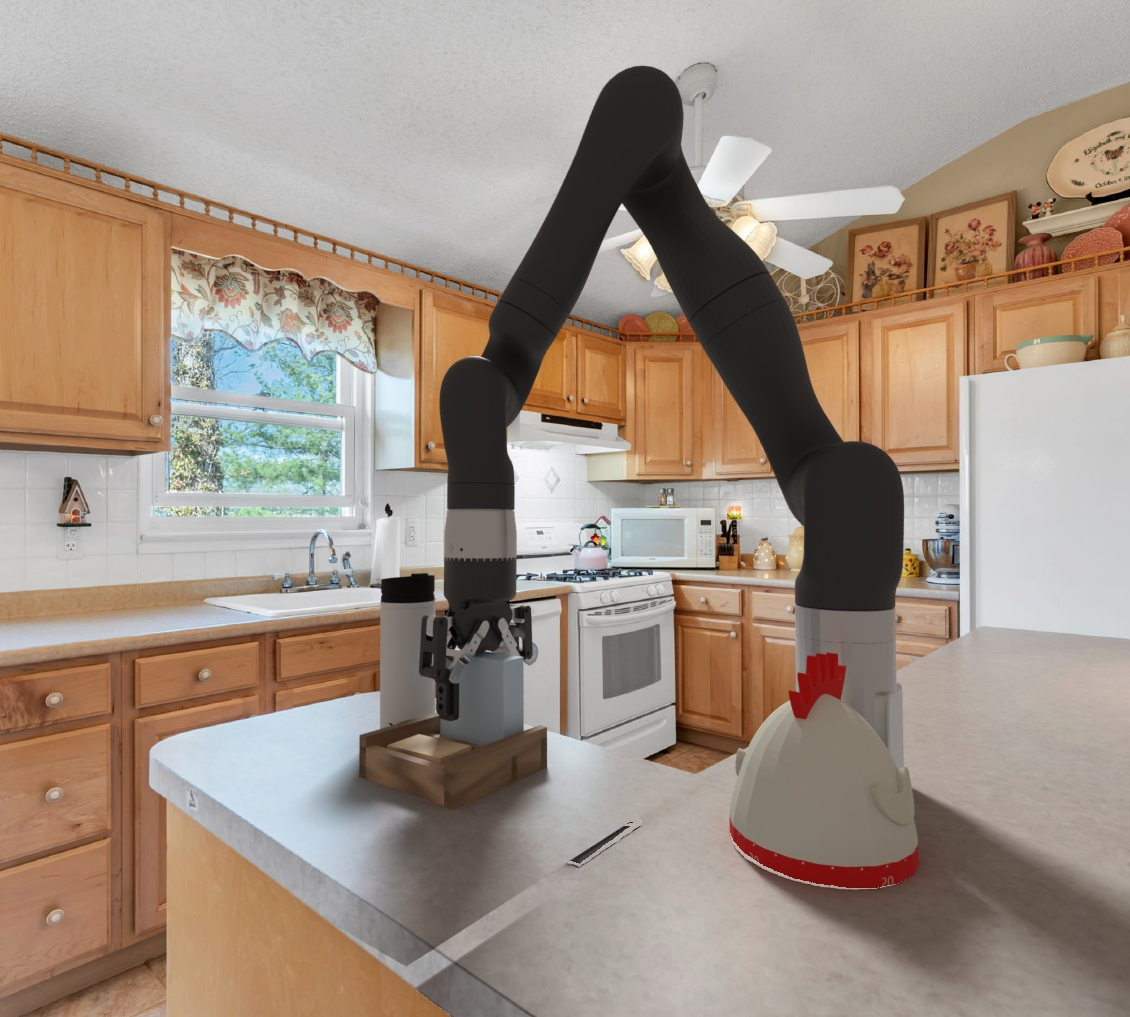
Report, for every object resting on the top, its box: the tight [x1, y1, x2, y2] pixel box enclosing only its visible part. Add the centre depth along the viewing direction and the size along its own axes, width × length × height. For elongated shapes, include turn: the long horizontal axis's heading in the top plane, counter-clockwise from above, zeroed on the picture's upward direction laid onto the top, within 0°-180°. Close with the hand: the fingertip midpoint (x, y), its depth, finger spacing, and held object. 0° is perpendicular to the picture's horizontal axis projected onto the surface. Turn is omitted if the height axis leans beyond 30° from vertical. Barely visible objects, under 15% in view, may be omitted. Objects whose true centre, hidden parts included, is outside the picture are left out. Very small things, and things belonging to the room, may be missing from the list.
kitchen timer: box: [729, 652, 920, 888], centre depth 55 cm, size 14×14×15 cm
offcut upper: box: [387, 734, 471, 765], centre depth 66 cm, size 7×4×2 cm, turn 57°
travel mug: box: [379, 572, 436, 729], centre depth 80 cm, size 6×7×20 cm
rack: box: [358, 712, 548, 810], centre depth 68 cm, size 13×13×5 cm
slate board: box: [440, 647, 525, 746], centre depth 71 cm, size 9×3×11 cm, turn 53°
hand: (479, 710), depth 71 cm, fingers open, 8 cm apart
